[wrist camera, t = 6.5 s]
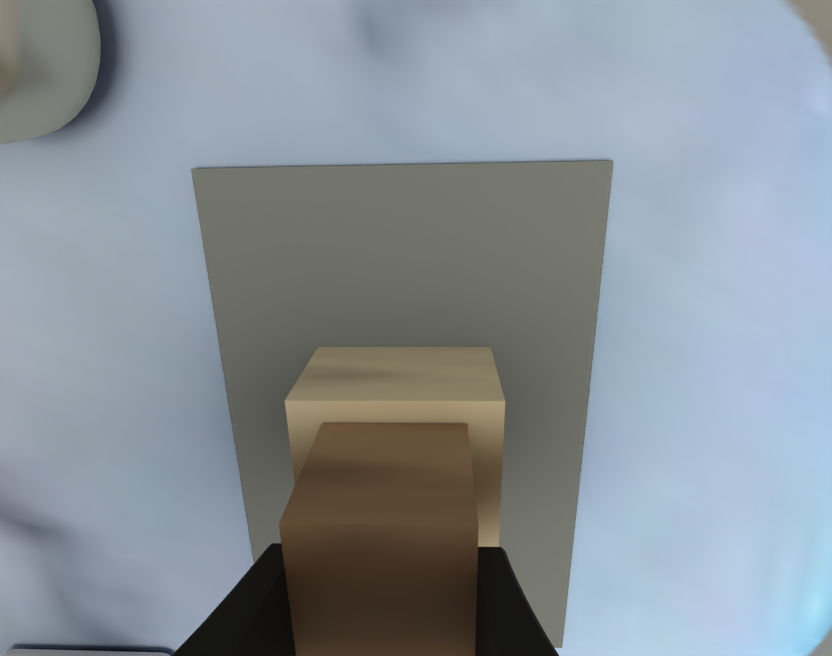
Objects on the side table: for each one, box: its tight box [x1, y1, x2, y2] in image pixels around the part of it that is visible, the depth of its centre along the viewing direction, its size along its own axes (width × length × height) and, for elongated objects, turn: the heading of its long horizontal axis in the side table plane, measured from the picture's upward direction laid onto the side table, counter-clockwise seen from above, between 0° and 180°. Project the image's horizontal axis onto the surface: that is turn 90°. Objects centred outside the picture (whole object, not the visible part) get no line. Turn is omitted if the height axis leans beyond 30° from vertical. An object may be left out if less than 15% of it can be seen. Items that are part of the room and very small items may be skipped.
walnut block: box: [279, 423, 479, 656], centre depth 13 cm, size 4×4×4 cm
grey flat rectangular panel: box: [191, 161, 613, 648], centre depth 19 cm, size 20×13×1 cm, turn 1°
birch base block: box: [285, 347, 505, 547], centre depth 16 cm, size 6×6×4 cm
